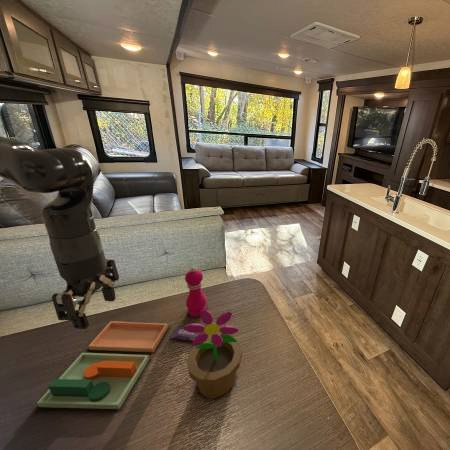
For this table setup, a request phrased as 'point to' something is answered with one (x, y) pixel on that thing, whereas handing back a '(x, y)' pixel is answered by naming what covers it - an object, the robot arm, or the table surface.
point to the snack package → (184, 334)
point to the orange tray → (129, 337)
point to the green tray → (117, 384)
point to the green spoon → (79, 389)
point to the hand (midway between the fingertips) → (97, 313)
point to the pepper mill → (195, 293)
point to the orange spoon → (110, 370)
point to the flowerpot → (214, 355)
